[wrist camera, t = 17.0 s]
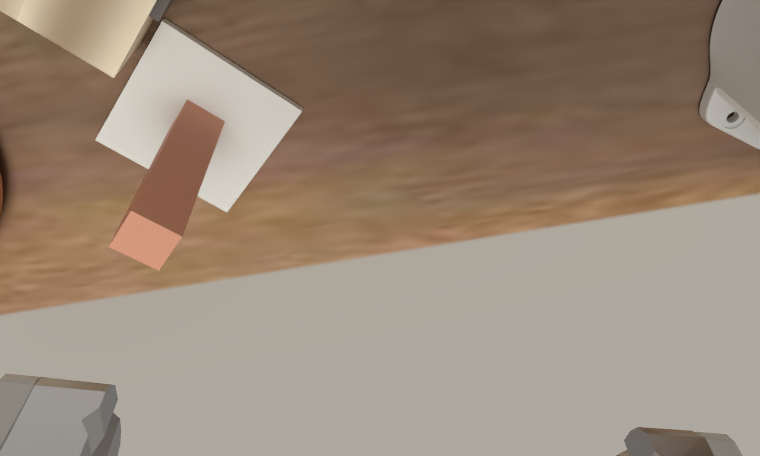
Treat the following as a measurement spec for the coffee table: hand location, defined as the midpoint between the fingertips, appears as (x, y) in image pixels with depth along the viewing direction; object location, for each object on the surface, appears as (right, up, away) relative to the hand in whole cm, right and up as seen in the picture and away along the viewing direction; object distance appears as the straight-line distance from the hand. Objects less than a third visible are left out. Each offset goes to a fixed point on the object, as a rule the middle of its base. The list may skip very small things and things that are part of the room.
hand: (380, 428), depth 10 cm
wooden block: (-13, +11, +37) cm, 41 cm away
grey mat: (-13, +11, +37) cm, 41 cm away
